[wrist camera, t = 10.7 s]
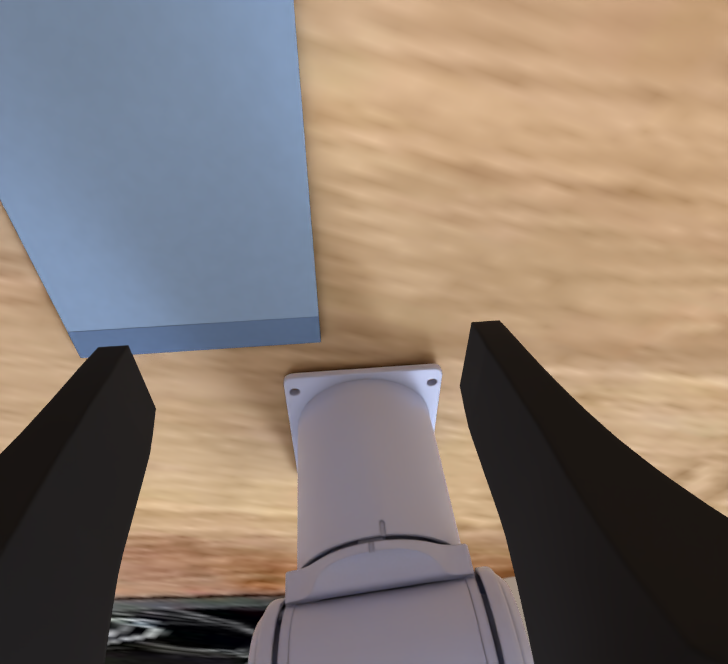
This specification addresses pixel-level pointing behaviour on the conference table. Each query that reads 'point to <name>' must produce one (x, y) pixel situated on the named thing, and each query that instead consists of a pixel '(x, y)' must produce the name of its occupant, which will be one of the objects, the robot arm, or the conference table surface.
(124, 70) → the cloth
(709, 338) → the conference table surface
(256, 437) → the conference table surface
